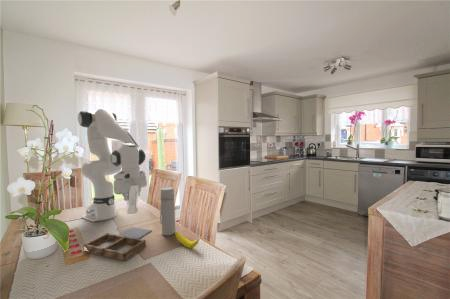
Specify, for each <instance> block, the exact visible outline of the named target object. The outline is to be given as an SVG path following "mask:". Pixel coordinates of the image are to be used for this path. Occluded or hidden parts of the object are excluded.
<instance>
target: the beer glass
mask: <svg viewBox="0 0 450 299" xmlns="http://www.w3.org/2000/svg"><path fill="white" fill-rule="evenodd" d="M126 195H127V197H129V200H127V201H125V202H126V214H127V215H132V214H136V213H138V212H139V204H138V203H139V198H140V196H139V187H138V185H134V186H131V189H130V191H129V192H127V194H126Z"/></svg>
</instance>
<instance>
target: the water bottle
mask: <svg viewBox="0 0 450 299" xmlns="http://www.w3.org/2000/svg"><path fill="white" fill-rule="evenodd" d="M159 200H160V215H159V216H160V217H159V221H160V224H161V230H162V231H161V232H162V233H161V234H162V235H163V236H166V237H167V236H171V235H174V234H175V231H176V213H175V210H176V209H175V192H174V187H173V186H172V187H171V186H167V187H162V188H161V190H160V197H159Z"/></svg>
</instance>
